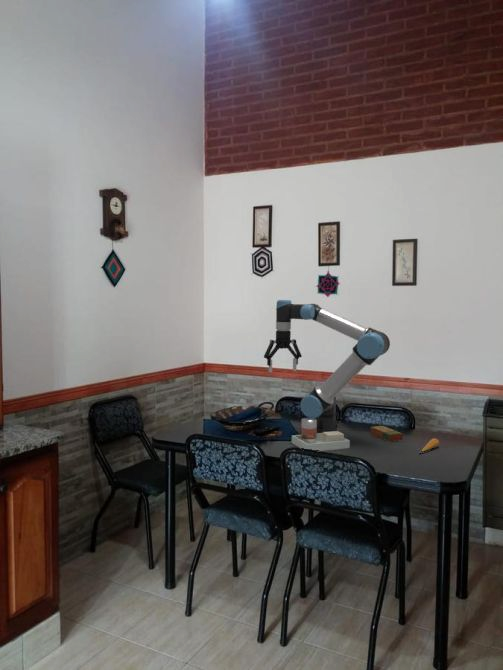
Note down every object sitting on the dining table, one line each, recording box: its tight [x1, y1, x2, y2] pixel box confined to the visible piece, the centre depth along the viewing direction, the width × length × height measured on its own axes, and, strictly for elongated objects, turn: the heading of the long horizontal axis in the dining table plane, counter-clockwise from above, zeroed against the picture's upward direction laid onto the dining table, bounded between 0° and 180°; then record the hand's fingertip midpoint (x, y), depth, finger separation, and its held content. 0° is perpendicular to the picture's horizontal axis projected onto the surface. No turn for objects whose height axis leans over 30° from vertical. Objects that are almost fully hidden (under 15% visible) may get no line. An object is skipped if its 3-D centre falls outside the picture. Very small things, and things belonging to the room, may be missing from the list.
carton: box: [369, 425, 404, 442], centre depth 279 cm, size 8×16×4 cm, turn 23°
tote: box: [291, 433, 351, 452], centre depth 258 cm, size 22×16×4 cm
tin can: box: [300, 417, 317, 444], centre depth 259 cm, size 7×7×12 cm
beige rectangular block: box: [322, 430, 345, 443], centre depth 258 cm, size 8×6×6 cm
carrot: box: [421, 438, 440, 451], centre depth 257 cm, size 20×4×4 cm, turn 139°
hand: (282, 371), depth 282 cm, fingers open, 13 cm apart
